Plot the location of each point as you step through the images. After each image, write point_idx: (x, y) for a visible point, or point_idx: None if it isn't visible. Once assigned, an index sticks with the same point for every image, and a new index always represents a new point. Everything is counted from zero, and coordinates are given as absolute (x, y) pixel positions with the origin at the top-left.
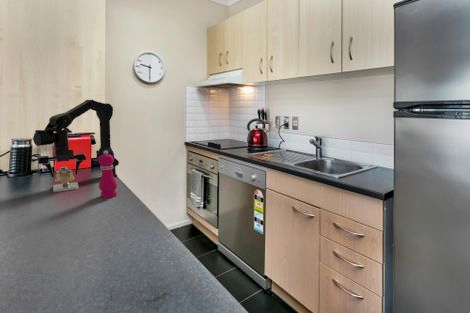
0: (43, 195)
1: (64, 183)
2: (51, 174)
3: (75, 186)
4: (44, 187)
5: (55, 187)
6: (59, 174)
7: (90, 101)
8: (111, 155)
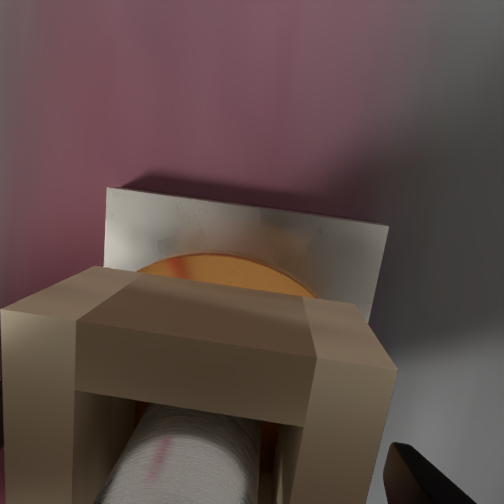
0: (499, 160)
1: None
2: (463, 494)
3: (136, 234)
4: None
5: None
6: (317, 351)
7: None
8: None
